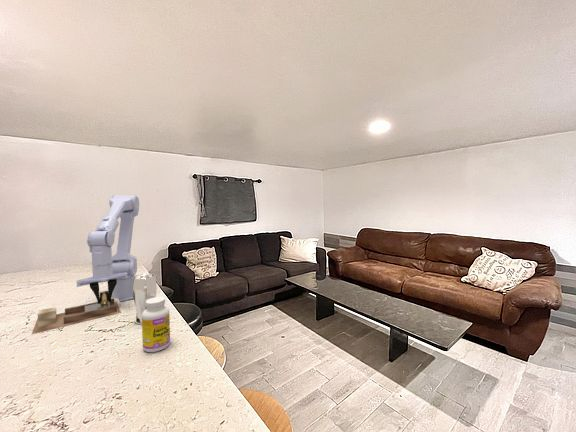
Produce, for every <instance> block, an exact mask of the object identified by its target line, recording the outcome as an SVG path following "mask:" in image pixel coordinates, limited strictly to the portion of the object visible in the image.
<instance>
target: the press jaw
mask: <svg viewBox="0 0 576 432" xmlns="http://www.w3.org/2000/svg"><path fill="white" fill-rule="evenodd" d="M99 296H100V304H98V303H97V304H92V305H88V306H85V312H88V311H93V310H97V309H102V308H106V307H111V306H110V303H109V301H108V290H104V291H99Z"/></svg>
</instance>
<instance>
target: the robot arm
mask: <svg viewBox="0 0 576 432" xmlns="http://www.w3.org/2000/svg"><path fill="white" fill-rule="evenodd" d="M108 201H109V202H108V203H109V207H110V209H109V210H108V214H107V216H104V217H102V218H101V220H100V221H99V223H98V225H97V226H96V228H95V230H94V231H91V232H90V233H88V235H87V240H86V243H87V246H88V247H89V252H90V253H91V265H92V267H91V268H92V277H87V278H82V279H77V280H76V288H79V287H82V286H88V285H89V289H90V290H91V291H92V293H93V295H95V298H96V302H98V304H100V284H101V283H106V282H107V291H108V301H109V302H110V301H111V299H118V301H119V302H120V303H121V302H125V301H130V300H134V298H133V277H135V276H138V275H139V274H137V272H138V262H137V261H138V260H137V258H136V256H134V255H132V254H131V248H132V238H133V229H134V221H135V217H137V216H139V210H140V200H139V197H138V196H137V195H136V194H135V195H134V194H133V195H113V194H112V195H111V196H110V198H109V200H108ZM119 219H120V222H119ZM118 227H119V230H118V239H117V245H116V254H114V255H113V251H112V247H113V245H114V244H115V238H116V231H117V229H118ZM136 274H137V275H136Z"/></svg>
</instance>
